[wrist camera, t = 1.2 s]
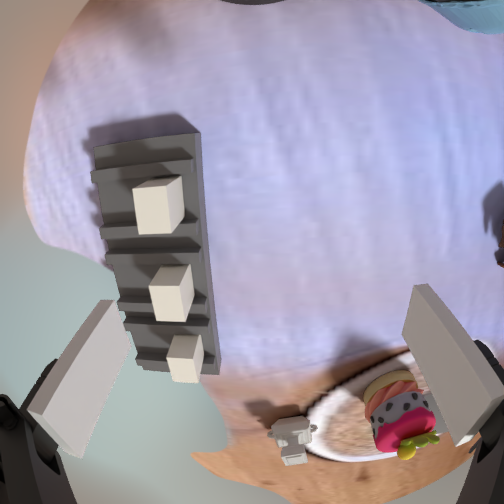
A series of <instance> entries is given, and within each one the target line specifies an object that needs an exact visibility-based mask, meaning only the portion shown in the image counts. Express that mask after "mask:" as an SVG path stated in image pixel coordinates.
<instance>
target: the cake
mask: <svg viewBox="0 0 504 504" xmlns="http://www.w3.org/2000/svg"><path fill="white" fill-rule="evenodd" d="M423 391H424V390H421V389H418V385H417V382H416V380H415V378H414V376H413V374H412V373H411V372H410V371H406V370H396V371H392V372H389V373H386V374H384V375H382V376H380V377H379V378H377V379H376V380H374V381H373V382H372V383H371V384H370V385H369V386H368V387H367V388H366V390H365V392H364V395H363V400H364V403H365V406H366V408H365V418H366V419H367V420H368V422H369V423H371V426H372V429H373V433H374V435H373V438H374V441H375V445H376V448H377V449H378V450H379V451H381V452H396V451H397V455H398V457H399V458H400V459H403V460H408V459H410V458H411V457H413V456H414V454H415V452H416V446H417V447H424V446H426V445H427V444H428V442H430V443H432V444H437V443H438V442H439V440H440V439H439V437H438V436H436V435H435V434H436V430H435V431H432V430H433V428H434V426H435V423H436V420H435V417H434V414H433V412H432V411H430V409H429V407H428V403H427V401H426V400H425V398H424V396H423V395H422V393H423ZM431 431H432V432H431Z"/></svg>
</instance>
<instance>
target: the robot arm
mask: <svg viewBox="0 0 504 504" xmlns="http://www.w3.org/2000/svg"><path fill="white" fill-rule="evenodd" d="M222 1H225V2H230V3H235V4H244V5H261V4H270V3H276V2H280V1H284V0H222ZM418 1H419V2H422V3H424V4H426V5H428V6H430V7H431V8H433V9H434V10H436V11H437V12H438V13H440V14H441V15H442V16H444V17H445V18H446V19H448V20H449V21H450V22H451V23H453V24H454V25H456V26H458V27H459V28H461V29H464V30H466V31H470V32H475V33H483V34H501V33H504V0H418ZM402 336H403V338H404V340H405V341H406V343H407V345H408V347H409V349H410V351H411V353H412V355H413V357H414V358H415V360H416V362H417V364H418V366H419V368H420V370H421V372H422V374H423V376H424V378H425V380H426V382H427V384H428V386H429V388H430V390H431V393H432V395H433V397H434V399H435V401H436V403H437V405H438V407H439V410H440V412H441V414H442V416H443V418H444V421H445V423H446V425H447V428H448V430H449V432H450V435H451V437H452V440H453V442H454V445H455V447H456V446H459V445H461V444H463V443H466V442H468V441H470V440H472V439H473V437H474V436H475V435H476V434H477V433H478V432H480V434H481V438H480V439H479V440H478V441H477V442H476V443H475V444H474V445H473V446H472V448H471V449H470V451H469V453H471V452H472V451H473V450H474V449H475V448H476V450H475V453H474V457H473V460H472V463H471V466H470V470H469V472H468V475H467V478H466V480H465V483H464V486H463V488H462V491H461V493H460V496H459V498H458V501H457V503H456V504H504V369H503V368H502V366H501V365H499V362H498V361H497V359H496V358H494V355H493V354H492V352H491V351H490V349H489V348H488V347H487V346H486V345H485V344H483V343H482V342H481V341H479V340H475V341H473V340H472V339H471V337H470V336H469V335H468V333H467V332H466V331H465V329H464V328H463V327H462V325H461V324H460V323H459V321H458V320H457V319H456V318H455V316H454V315H453V314H452V312H451V311H450V310H449V309H448V307H447V306H446V305H445V304H444V303H443V301H442V300H441V299H440V298H439V296H438V295H437V294H436V293H435V292H434V291H433V289H432V288H431V287H430V286H429V285H428V284H420V285H414V286H413V291H412V295H411V299H410V304H409V308H408V312H407V316H406V320H405V323H404V327H403V331H402ZM131 347H132V346H131V343H130V341H129V339H128V336H127V333H126V331H125V328H124V325H123V323H122V320H121V318H120V314H119V312H118V309H117V306H116V303H115V300H100V302H99V303H98V304H97V306H96V307H95V308H94V309H93V311H92V312H91V314H90V315H89V316H88V318H87V319H86V320H85V322H84V323H83V324H82V326H81V327H80V329H79V330H78V331H77V333H76V334H75V336H74V337H73V338H72V340H71V341H70V343H69V344H68V346H67V347H66V349H65V350H64V352H63V353H62V354H61V356H60V357H59V359H54V361H52V362H51V363H50V364H48V365H47V366H46V368H45V369H44V371H43V372H42V374H41V377H39V378H38V380H37V381H36V384H35V385H34V386H33V388H32V389H31V391H30V393H29V394H28V396H27V397H26V399H25V400H24V402H23V404H22V405H21V407H20V409H18V408H17V407H16V406H15V404H14V403H13V402H12V401H11V399H10V398H9V397H8V396H7V395H4V394H0V504H77V502H76V499H75V497H74V494H73V492H72V490H71V487H70V484H69V481H68V478H67V476H66V473H65V470H64V467H63V464H62V460H61V457H60V455H59V453H58V452H57V451H56V450H57V448H58V446H60V447H61V448H62V449H63V450H64V451H65V452H66V453H67V454H70V455H73V456H76V457H79V458H82V457H83V454H84V452H85V449H86V447H87V444H88V442H89V439H90V437H91V435H92V432H93V430H94V428H95V425H96V423H97V420H98V418H99V416H100V413H101V411H102V409H103V406H104V404H105V402H106V400H107V397H108V395H109V393H110V391H111V389H112V387H113V384H114V382H115V380H116V378H117V376H118V374H119V371H120V369H121V367H122V365H123V363H124V361H125V359H126V357H127V355H128V353H129V351H130V349H131Z"/></svg>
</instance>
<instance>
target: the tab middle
mask: <svg viewBox="0 0 504 504" xmlns="http://www.w3.org/2000/svg"><path fill="white" fill-rule="evenodd" d="M149 290H150V295H151V299H152V304H153V308H154V312H155V316H156V321H173V322H186V319H187V316H188V313H189V310H190V307H191V304H192V301H193V299H194V296H195V293H194V286H193V279H192V271H191V264H162V265H161V267H160V268H159V270H158V272H157V273H156V275H155V276H154V278H153V279H152V281H151V283H150V284H149Z"/></svg>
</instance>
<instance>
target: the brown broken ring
mask: <svg viewBox="0 0 504 504" xmlns="http://www.w3.org/2000/svg"><path fill="white" fill-rule="evenodd" d="M503 224H504V219H503ZM499 247H503V248H504V225H503V226H502V238H501V242H500V243H499ZM498 265H500V266H501V267H503V268H504V263H500V262H498Z"/></svg>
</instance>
